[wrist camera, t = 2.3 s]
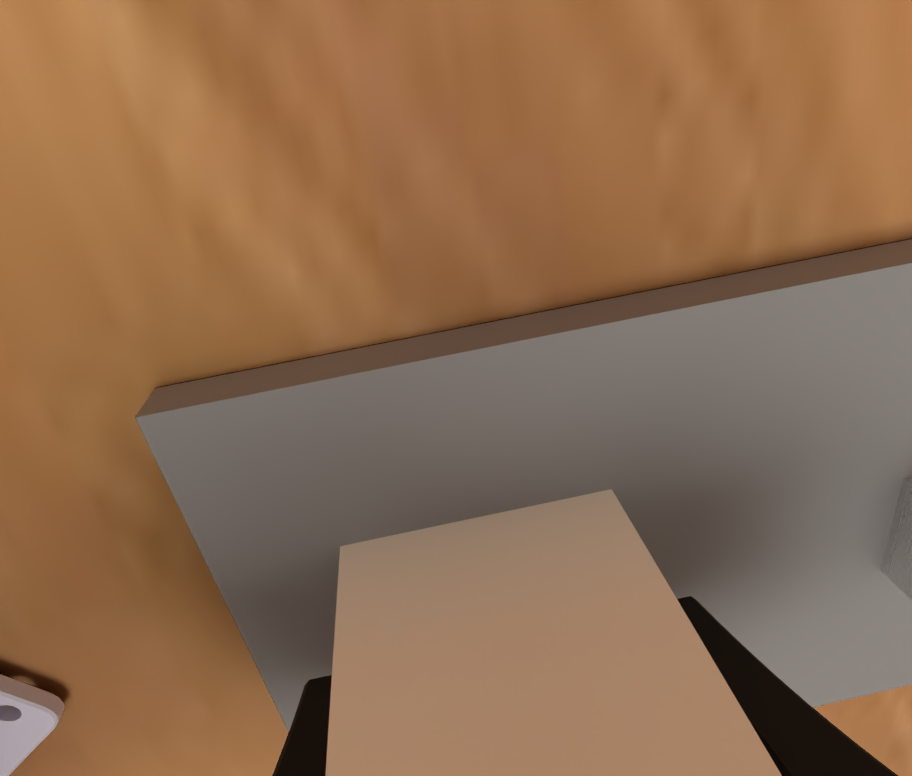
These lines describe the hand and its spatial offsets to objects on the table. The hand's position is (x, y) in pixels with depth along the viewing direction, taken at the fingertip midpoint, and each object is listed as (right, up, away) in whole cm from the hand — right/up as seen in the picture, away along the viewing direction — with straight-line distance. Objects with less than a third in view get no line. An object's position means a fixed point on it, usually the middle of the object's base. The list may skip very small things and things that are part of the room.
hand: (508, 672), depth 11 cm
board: (+5, +2, +2) cm, 6 cm away
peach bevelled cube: (0, +1, +1) cm, 1 cm away
